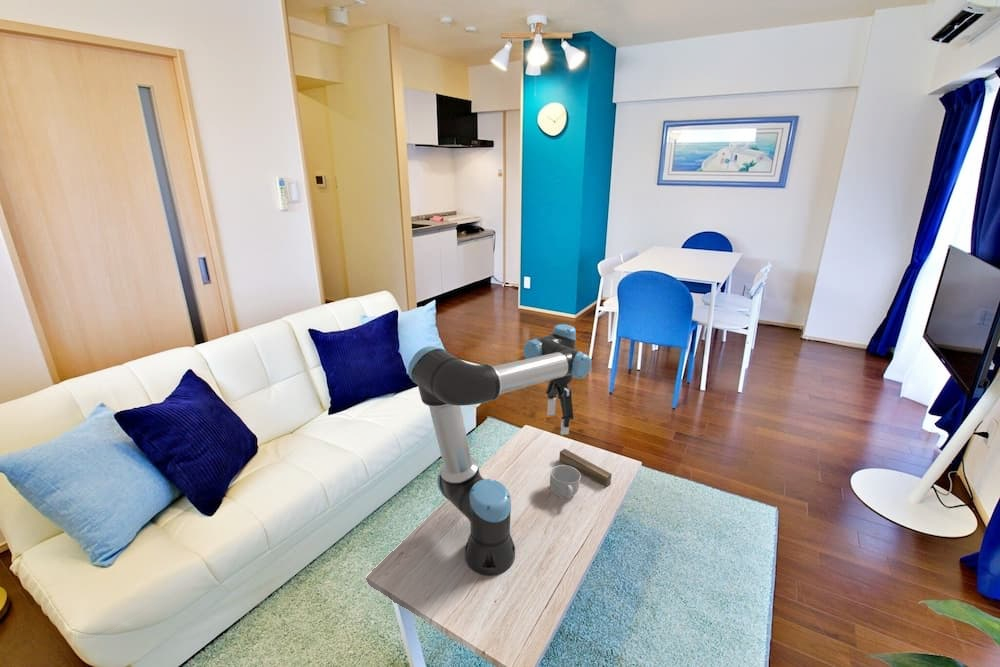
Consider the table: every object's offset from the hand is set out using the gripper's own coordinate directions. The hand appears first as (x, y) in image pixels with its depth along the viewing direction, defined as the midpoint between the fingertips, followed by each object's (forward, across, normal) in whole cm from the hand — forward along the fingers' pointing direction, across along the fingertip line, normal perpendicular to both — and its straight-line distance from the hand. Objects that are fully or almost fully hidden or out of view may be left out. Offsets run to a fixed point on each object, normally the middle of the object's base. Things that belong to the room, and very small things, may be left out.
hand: (557, 424), depth 166 cm
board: (+24, +2, -13) cm, 27 cm away
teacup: (+24, -8, -1) cm, 26 cm away
